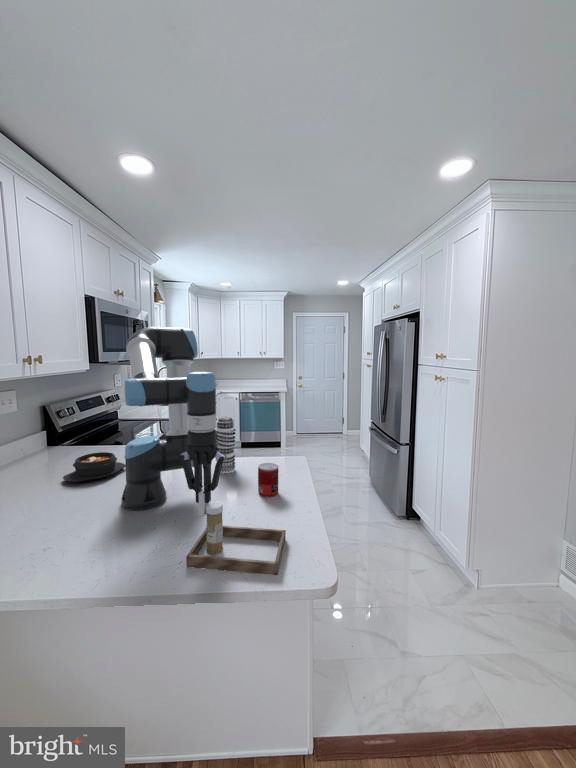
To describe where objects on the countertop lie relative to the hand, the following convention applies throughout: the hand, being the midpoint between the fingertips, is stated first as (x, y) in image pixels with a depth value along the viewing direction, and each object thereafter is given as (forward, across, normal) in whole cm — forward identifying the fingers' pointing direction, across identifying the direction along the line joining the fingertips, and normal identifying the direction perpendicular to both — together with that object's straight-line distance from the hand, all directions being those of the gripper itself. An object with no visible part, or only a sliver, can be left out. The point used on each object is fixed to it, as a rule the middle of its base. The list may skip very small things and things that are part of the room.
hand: (203, 513), depth 91 cm
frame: (+11, +10, 0) cm, 15 cm away
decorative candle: (+11, -14, +61) cm, 64 cm away
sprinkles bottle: (+11, +3, 0) cm, 11 cm away
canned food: (+11, +11, +39) cm, 42 cm away
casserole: (+11, -68, +47) cm, 84 cm away
